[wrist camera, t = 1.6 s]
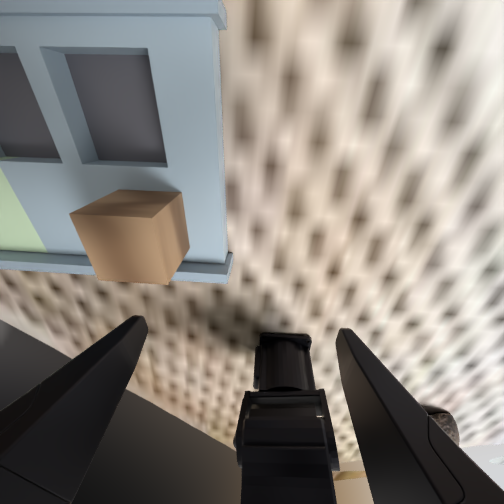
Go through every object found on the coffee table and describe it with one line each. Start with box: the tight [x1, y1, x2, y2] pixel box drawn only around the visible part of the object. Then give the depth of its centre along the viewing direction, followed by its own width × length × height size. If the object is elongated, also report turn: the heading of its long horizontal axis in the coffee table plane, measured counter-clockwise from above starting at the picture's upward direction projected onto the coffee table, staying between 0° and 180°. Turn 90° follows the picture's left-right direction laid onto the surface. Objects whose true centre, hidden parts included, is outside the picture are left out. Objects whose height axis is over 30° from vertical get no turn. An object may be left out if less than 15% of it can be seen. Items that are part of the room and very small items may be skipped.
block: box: [69, 189, 190, 285], centre depth 16 cm, size 5×5×5 cm
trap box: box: [0, 0, 233, 284], centre depth 17 cm, size 28×18×4 cm, turn 89°
